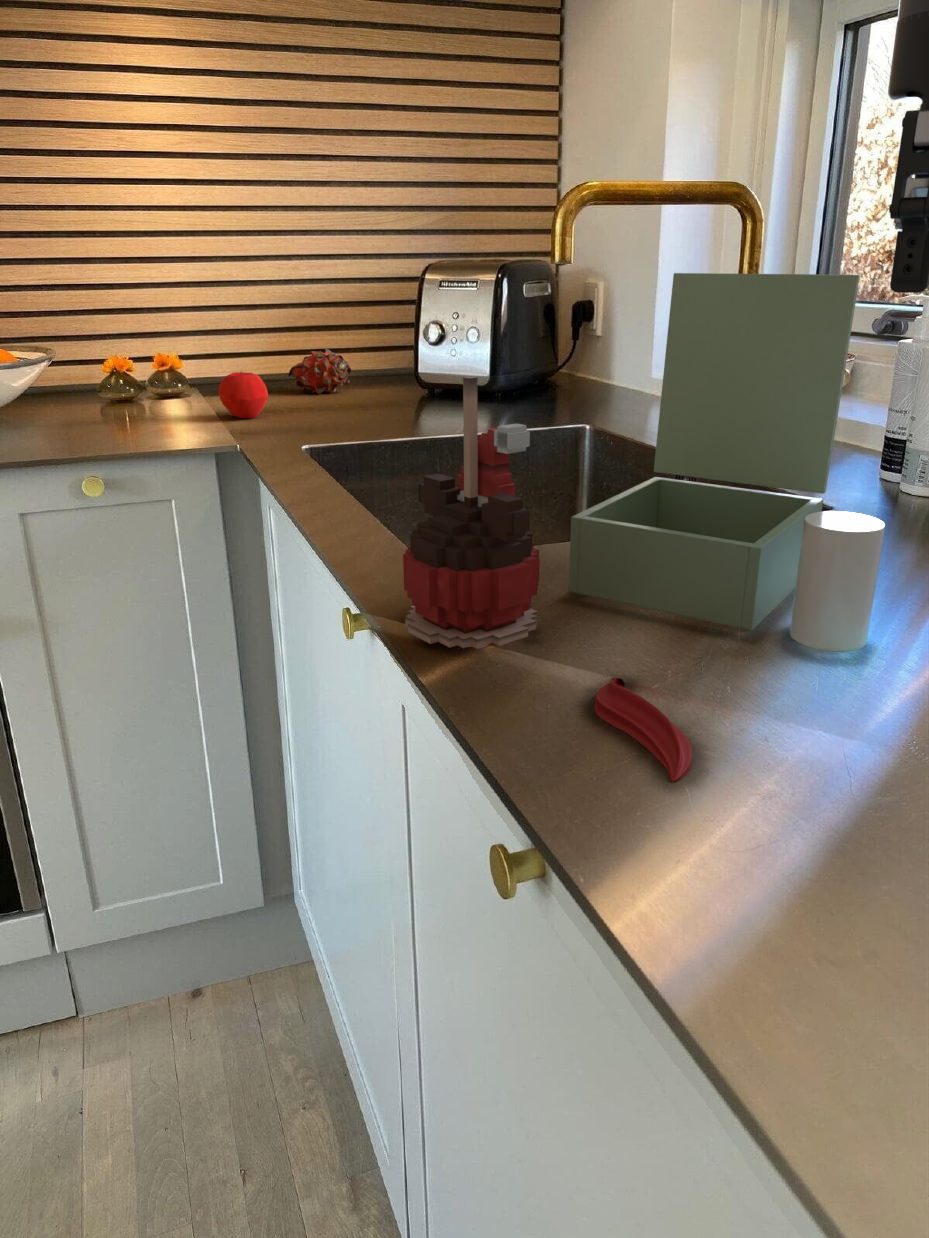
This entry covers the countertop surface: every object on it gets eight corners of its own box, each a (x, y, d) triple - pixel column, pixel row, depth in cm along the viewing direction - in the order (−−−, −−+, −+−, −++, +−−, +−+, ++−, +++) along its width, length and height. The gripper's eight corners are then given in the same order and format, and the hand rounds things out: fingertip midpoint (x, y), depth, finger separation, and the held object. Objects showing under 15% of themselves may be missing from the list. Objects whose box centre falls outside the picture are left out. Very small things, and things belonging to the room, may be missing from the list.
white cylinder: (872, 642, 66) (893, 517, 62) (855, 667, 62) (875, 536, 58) (800, 627, 68) (816, 507, 65) (778, 650, 64) (794, 524, 61)
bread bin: (750, 640, 66) (761, 548, 64) (567, 600, 74) (570, 516, 71) (812, 578, 78) (823, 498, 76) (649, 549, 86) (654, 476, 83)
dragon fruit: (357, 401, 178) (295, 411, 179) (357, 370, 183) (297, 379, 184) (345, 368, 171) (281, 378, 172) (345, 336, 175) (283, 346, 177)
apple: (212, 417, 154) (207, 371, 151) (256, 411, 159) (251, 366, 156) (233, 423, 148) (228, 375, 146) (278, 418, 153) (274, 371, 150)
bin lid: (857, 274, 70) (871, 278, 74) (673, 273, 78) (694, 276, 82) (823, 494, 75) (838, 486, 79) (653, 472, 83) (674, 466, 87)
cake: (377, 624, 70) (366, 375, 63) (476, 596, 75) (475, 364, 68) (466, 672, 62) (463, 393, 55) (569, 637, 67) (578, 379, 60)
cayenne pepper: (588, 682, 60) (589, 654, 59) (660, 682, 60) (662, 654, 59) (612, 782, 49) (613, 749, 48) (700, 782, 49) (704, 749, 48)
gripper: (1019, -20, 51) (964, 297, 57) (1045, 18, 61) (996, 282, 68) (872, 1, 55) (836, 295, 61) (921, 33, 65) (886, 281, 72)
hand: (921, 288), depth 64 cm, fingers open, 8 cm apart
